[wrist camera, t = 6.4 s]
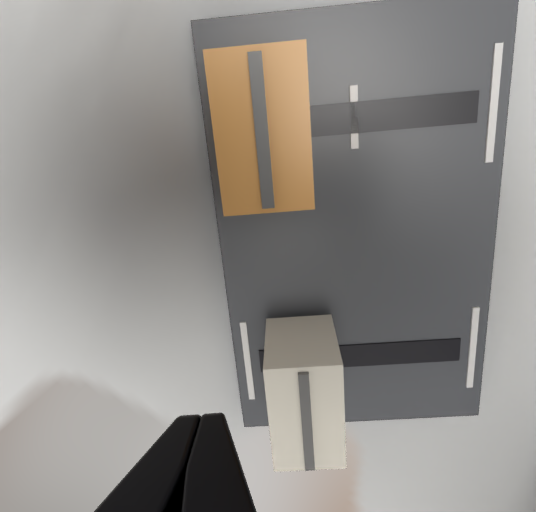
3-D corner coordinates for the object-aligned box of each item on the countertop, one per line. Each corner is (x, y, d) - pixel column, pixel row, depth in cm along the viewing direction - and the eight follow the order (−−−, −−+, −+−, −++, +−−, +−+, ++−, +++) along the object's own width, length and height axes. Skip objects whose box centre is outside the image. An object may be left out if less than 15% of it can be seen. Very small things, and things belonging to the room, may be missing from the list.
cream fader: (331, 314, 20) (344, 368, 16) (335, 403, 21) (347, 472, 18) (266, 318, 20) (262, 372, 16) (274, 406, 22) (273, 475, 18)
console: (503, -7, 17) (521, -15, 15) (468, 399, 23) (479, 416, 22) (196, 25, 17) (189, 19, 16) (246, 411, 24) (244, 428, 23)
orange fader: (300, 52, 16) (306, 37, 12) (307, 185, 18) (315, 210, 14) (220, 60, 16) (201, 48, 12) (235, 191, 18) (222, 218, 14)
